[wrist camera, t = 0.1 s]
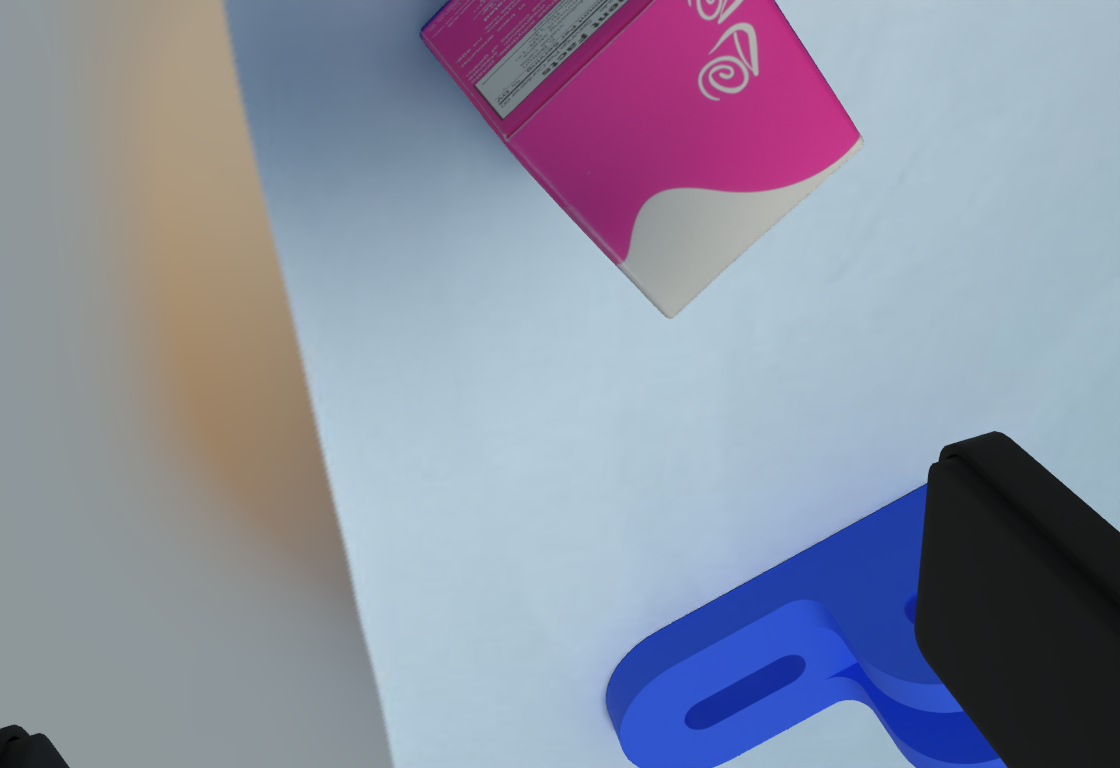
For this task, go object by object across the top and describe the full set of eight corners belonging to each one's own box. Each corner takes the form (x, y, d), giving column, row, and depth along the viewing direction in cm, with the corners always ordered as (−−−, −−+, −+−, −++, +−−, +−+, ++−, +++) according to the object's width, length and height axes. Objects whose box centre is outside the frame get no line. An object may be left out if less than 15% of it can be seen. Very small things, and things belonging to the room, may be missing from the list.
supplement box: (679, 38, 29) (877, 152, 20) (538, 170, 30) (662, 338, 21) (564, -123, 26) (734, -78, 17) (410, 30, 27) (488, 154, 18)
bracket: (928, 483, 43) (1066, 627, 35) (960, 591, 47) (1089, 738, 40) (578, 674, 43) (643, 856, 36) (644, 763, 48) (714, 939, 41)
